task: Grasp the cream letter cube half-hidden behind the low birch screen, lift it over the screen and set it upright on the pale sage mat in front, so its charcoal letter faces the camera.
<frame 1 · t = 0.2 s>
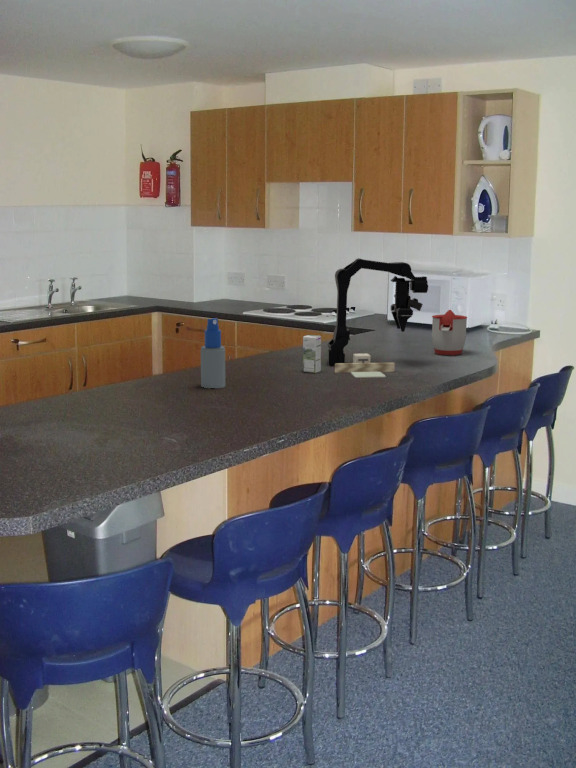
hand: (400, 330, 367), 14 cm above the counter, fingers open, 9 cm apart
syrup box: (311, 372, 351), on the counter
birch screen: (364, 371, 351), on the counter
spray bottle: (213, 386, 322), on the counter
citrus juicer: (447, 354, 395), on the counter
letter cube: (361, 369, 357), on the counter
sage mat: (368, 375, 344), on the counter
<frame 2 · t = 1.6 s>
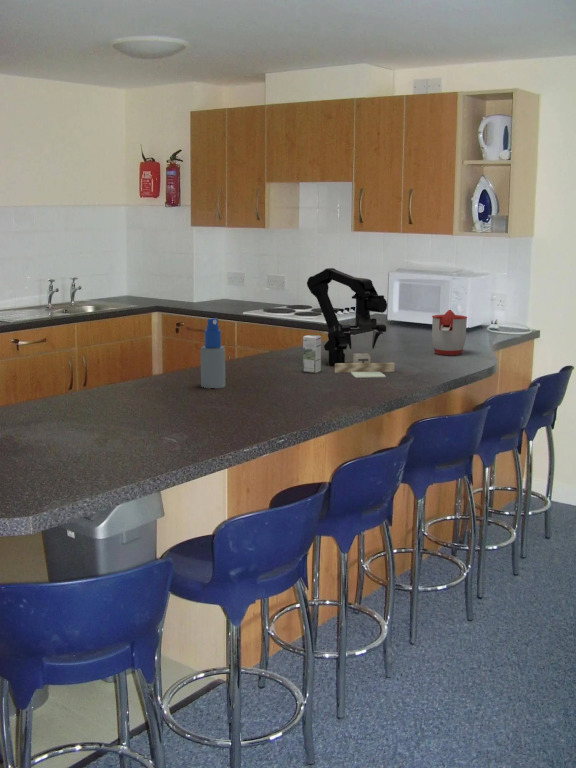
hand: (361, 348, 356), 8 cm above the counter, fingers open, 9 cm apart
nothing on the counter moved.
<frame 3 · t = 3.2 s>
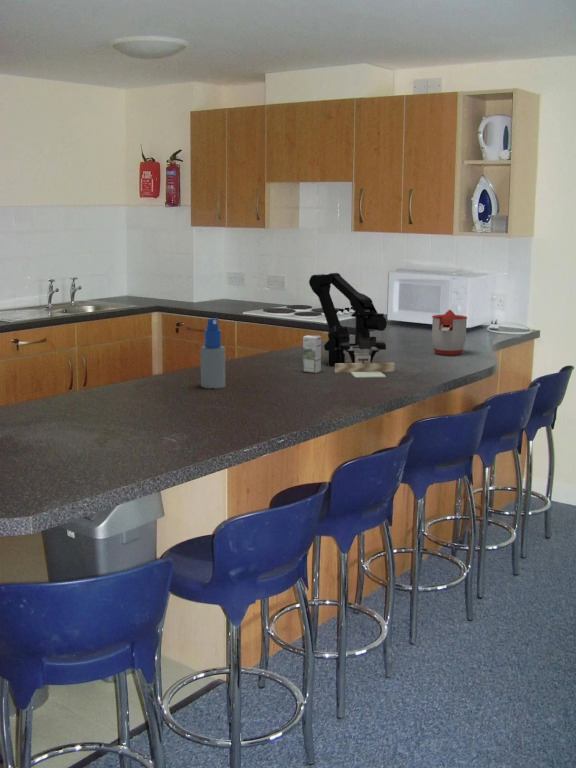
hand: (361, 366, 357), 1 cm above the counter, fingers closed on letter cube, 6 cm apart
letter cube: (361, 369, 357), on the counter, touching gripper
everything else where it was.
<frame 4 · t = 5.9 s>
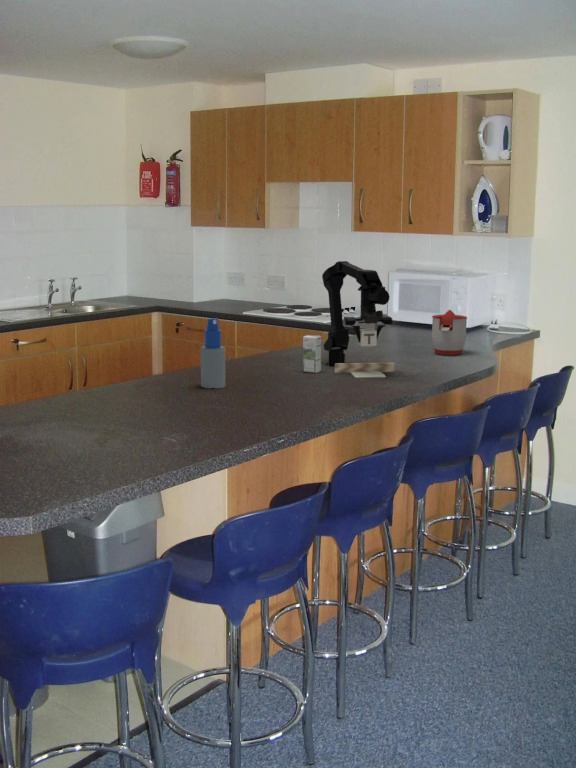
hand: (367, 342, 345), 12 cm above the counter, fingers closed on letter cube, 6 cm apart
letter cube: (367, 345, 346), point 11 cm above the counter, touching gripper
everything else where it was.
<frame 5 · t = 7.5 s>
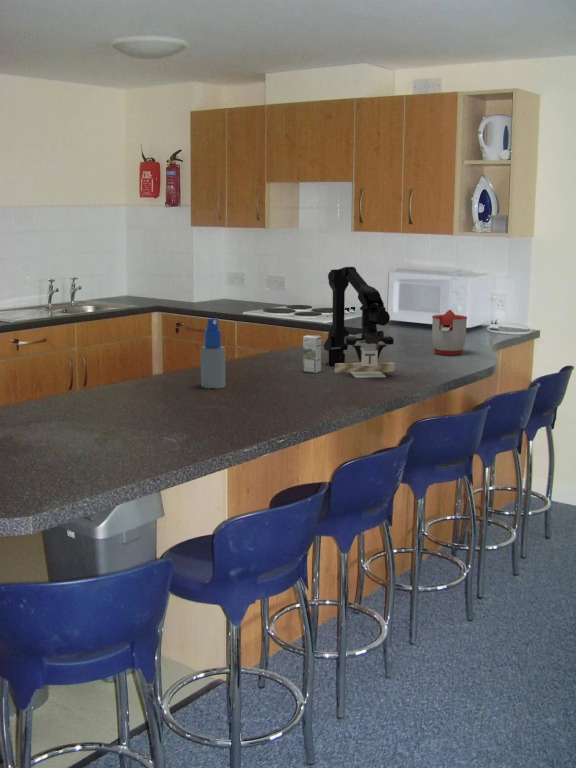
hand: (368, 362, 343), 5 cm above the counter, fingers closed on letter cube, 6 cm apart
letter cube: (368, 364, 343), point 4 cm above the counter, touching gripper
everything else where it was.
when the fingers open (3 cm above the counter, at t = 8.8 s): letter cube drops 2 cm, resting on sage mat.
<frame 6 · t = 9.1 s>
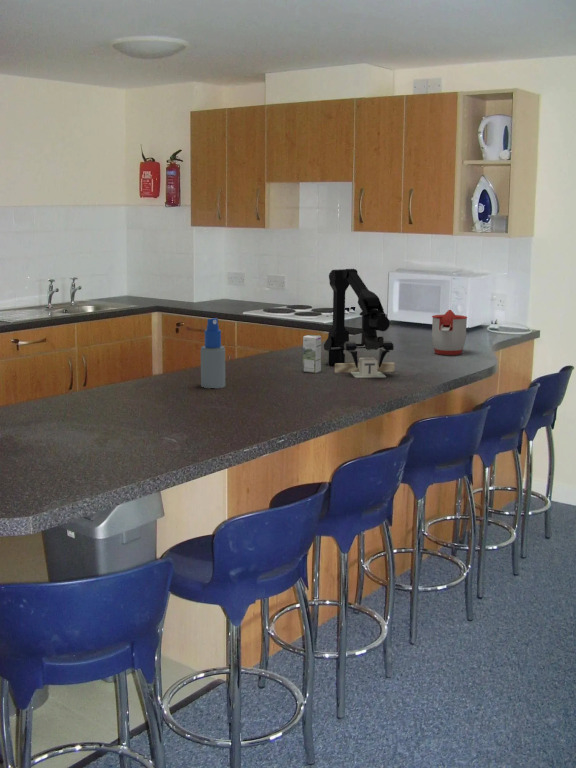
hand: (368, 367, 344), 3 cm above the counter, fingers open, 9 cm apart
letter cube: (367, 374, 344), resting on sage mat
everything else where it was.
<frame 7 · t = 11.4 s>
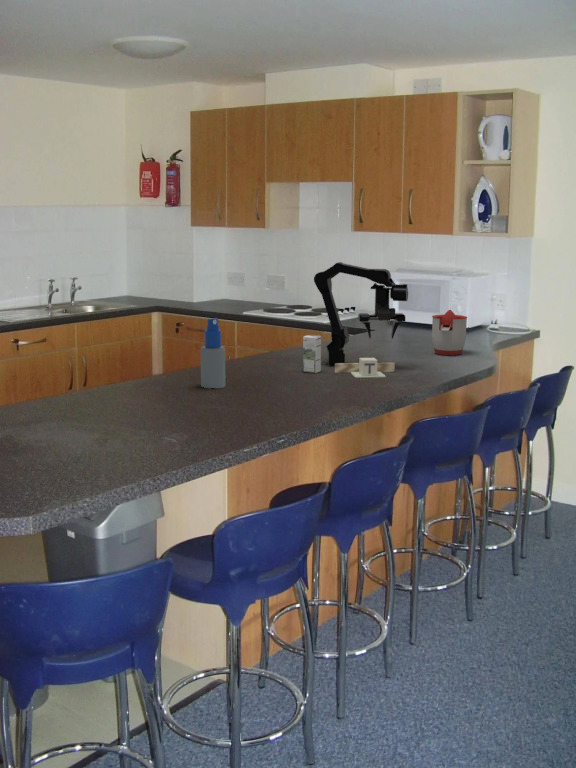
hand: (381, 338, 359), 12 cm above the counter, fingers open, 9 cm apart
nothing on the counter moved.
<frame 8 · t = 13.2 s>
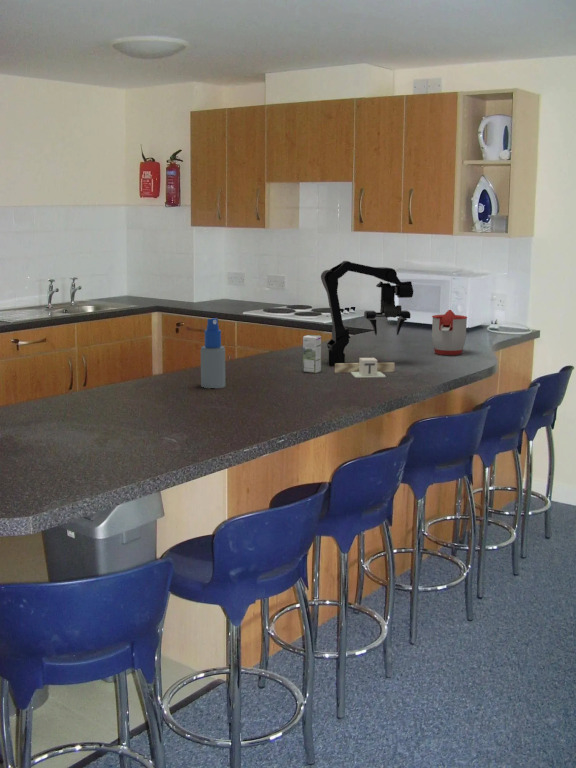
hand: (386, 335, 369), 12 cm above the counter, fingers open, 9 cm apart
nothing on the counter moved.
at the end: letter cube inside the target area on the sage mat (0.0 cm from its centre), point 0.4 cm above the sage mat's base; letter cube tilted 0°; the gripper is holding nothing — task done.
